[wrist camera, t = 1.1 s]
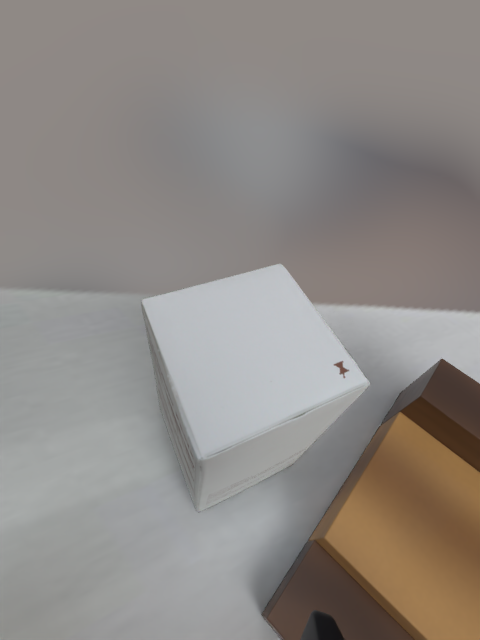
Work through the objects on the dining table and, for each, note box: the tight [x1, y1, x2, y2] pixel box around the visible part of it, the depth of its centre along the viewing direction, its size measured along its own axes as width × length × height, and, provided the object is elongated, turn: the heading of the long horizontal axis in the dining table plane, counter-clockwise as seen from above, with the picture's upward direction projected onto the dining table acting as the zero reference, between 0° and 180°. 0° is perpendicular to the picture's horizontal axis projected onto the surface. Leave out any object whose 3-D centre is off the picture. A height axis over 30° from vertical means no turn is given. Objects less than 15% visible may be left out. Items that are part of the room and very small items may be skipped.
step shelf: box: [262, 359, 480, 640], centre depth 18 cm, size 18×12×6 cm, turn 138°
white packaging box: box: [141, 264, 370, 512], centre depth 18 cm, size 7×7×13 cm
